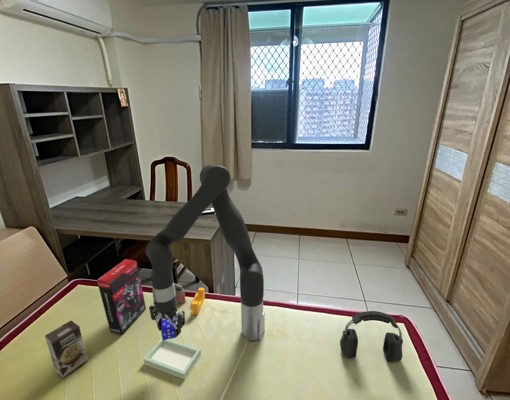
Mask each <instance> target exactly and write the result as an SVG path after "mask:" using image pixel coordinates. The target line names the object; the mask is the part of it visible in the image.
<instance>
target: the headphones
mask: <svg viewBox="0 0 510 400" xmlns="http://www.w3.org/2000/svg"><path fill="white" fill-rule="evenodd" d="M371 321H374V322H375V321H377V322H383V323H385V324H391V326H392V327H393V328H395V329H397V330H398V334H399V335H398V334H396V333H394V332H386V333H385V335H384V340H383V345H382V352H383V354H384V357H385V359H386V360H387V362H389V363H400V362H401V361H402V360H403V345H404V344H403V343H404V340H403V335H402V334H403V333H402V331H401V329H400V326H399V325H398V324H397V321H396V320H395V319H394V318H393V317H392V316H391V315H390V314H387V313H385V312H383V311H377V310H367V311H363V312H358V313H356V314H354V315H353V316H352V317H351V320H350V321H348V322H347V323H346V325H345V327H344V330H342V335H341V338H340V340H339V346H340V351H341V353H342V355H343V356H344V357H347V358H350V359H354V358H356V357H357V354H358V353H357V352H358V347H359V346H358V345H359V337H358V334H357V331H356V330H355V328H349V327H350V326H351V325H352V324H354V325H355V326H356V325H358V324H360V323H361V322H371Z"/></svg>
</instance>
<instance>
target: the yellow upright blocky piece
mask: <svg viewBox="0 0 510 400" xmlns="http://www.w3.org/2000/svg"><path fill="white" fill-rule="evenodd" d="M205 291H206V290H205V287H199V288H198V290H197V292H196V293H195V295H194V297H193V300H192V302H191V310H192V312H191V313H192V315H193V316H199V315H200V312H201V309H202V307H203V304H204V301H205V298H206V293H205ZM201 306H202V307H201Z"/></svg>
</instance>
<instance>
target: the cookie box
mask: <svg viewBox="0 0 510 400" xmlns="http://www.w3.org/2000/svg"><path fill="white" fill-rule="evenodd" d="M82 335H83V334H82V333H81V328H80V325H78V324H77V323H75V322H74V321H73V320H69V321H67V322H65V323H64V324H62V325H61V326H59V327H57V328H56V329H54V330H52V331H50V332H49V333H47V334H45V335H44V338H45V341H46V344H47V348H48V351H49V355H50V358H51V362H52V365H53V369H54V370H55V371H56V372H57V373H58V375H59V376H60V377H62V378H64V377H65V376H67V375H68V374H69V373H71V372H72V371H75V369H76V368H78V367H79V366H81V365H82V364H84V363H85V362H87V361H88V355H87V350H86V347H85V344H84V339H83V336H82Z"/></svg>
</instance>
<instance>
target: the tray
mask: <svg viewBox="0 0 510 400" xmlns="http://www.w3.org/2000/svg"><path fill="white" fill-rule="evenodd" d="M201 355H202V350H201V349H200V348H197V347H195V346H192V345H189V344H185V343H181V342H179V341H176V340H173V339H167V340H162V337H161V338H160V339H159V341H158V342H157V343H156V344H155V345H154V346H153V347H152V348H151V350H150V351H149V352H148V353H147V354H146V355H145V356H144V358H143V363H144V365H146V366H148V367H151V368H153V369H156V370H159V371H162V372H164V373H165V374H166V373H167V374H170V375H172V376H175V377H177V378H180V379H183V380H186V378H187V377H188V376H189V374H190V372H191V371H192V369H193V368H194V366H195V364H196V363H197V362H198V360H199V358H200V357H201Z"/></svg>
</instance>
